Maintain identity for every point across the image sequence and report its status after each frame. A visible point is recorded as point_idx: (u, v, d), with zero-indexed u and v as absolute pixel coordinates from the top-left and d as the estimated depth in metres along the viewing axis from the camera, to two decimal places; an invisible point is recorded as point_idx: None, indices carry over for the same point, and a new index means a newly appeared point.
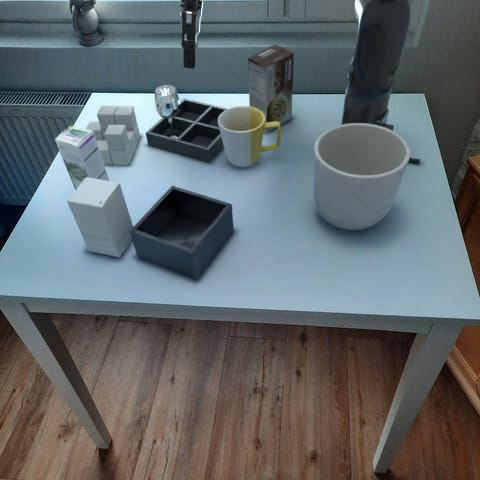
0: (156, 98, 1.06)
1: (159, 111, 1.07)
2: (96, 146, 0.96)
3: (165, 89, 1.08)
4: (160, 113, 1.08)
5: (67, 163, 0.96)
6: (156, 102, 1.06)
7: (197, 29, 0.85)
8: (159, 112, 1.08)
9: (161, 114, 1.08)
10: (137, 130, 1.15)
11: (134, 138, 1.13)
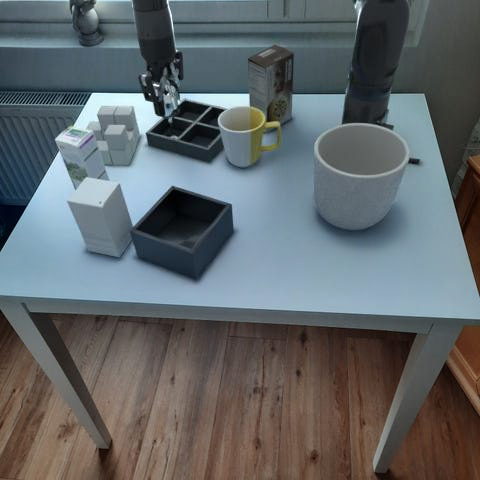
0: None
1: None
2: (96, 146, 0.96)
3: (165, 89, 1.08)
4: None
5: (67, 163, 0.96)
6: None
7: (160, 87, 1.02)
8: None
9: None
10: (137, 130, 1.15)
11: (134, 138, 1.13)
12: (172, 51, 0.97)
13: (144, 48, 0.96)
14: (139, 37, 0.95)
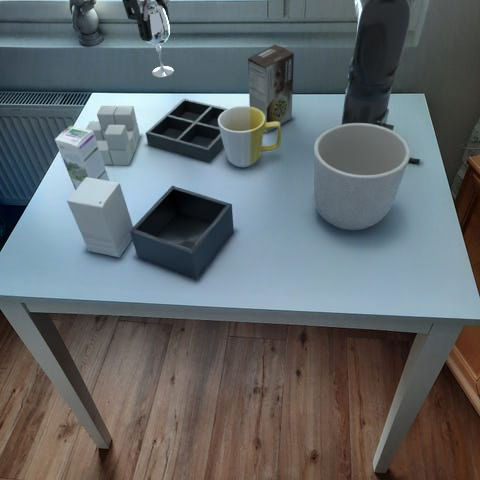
0: None
1: None
2: (96, 146, 0.96)
3: (151, 11, 0.94)
4: None
5: (67, 163, 0.96)
6: None
7: (145, 2, 0.88)
8: None
9: None
10: (137, 130, 1.15)
11: (134, 138, 1.13)
12: None
13: None
14: None
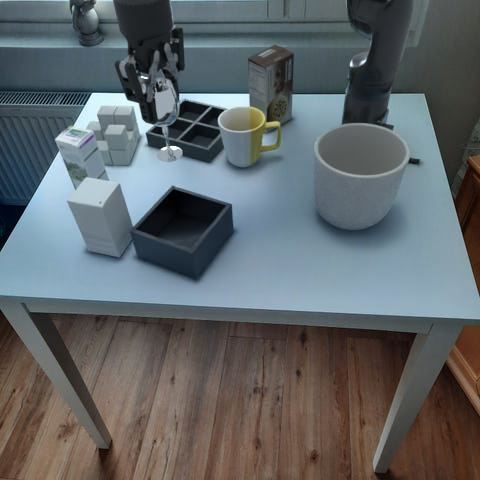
0: None
1: None
2: (96, 146, 0.96)
3: (157, 84, 0.74)
4: None
5: (67, 163, 0.96)
6: None
7: (149, 80, 0.68)
8: None
9: None
10: (137, 130, 1.15)
11: (134, 138, 1.13)
12: (167, 24, 0.63)
13: (123, 19, 0.62)
14: (115, 1, 0.61)
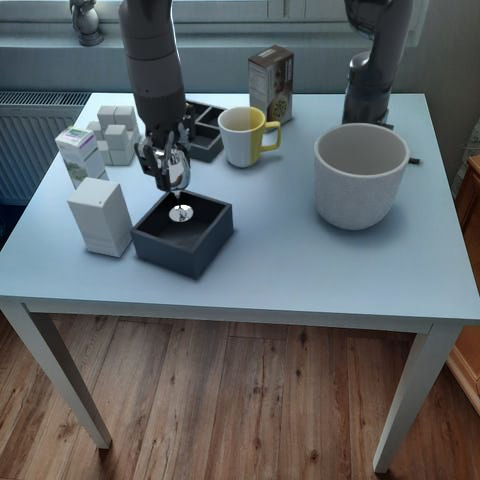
0: None
1: None
2: (96, 146, 0.96)
3: None
4: None
5: (67, 163, 0.96)
6: None
7: (164, 157, 0.74)
8: None
9: None
10: (137, 130, 1.15)
11: (134, 138, 1.13)
12: (181, 110, 0.69)
13: (142, 108, 0.68)
14: (135, 93, 0.67)
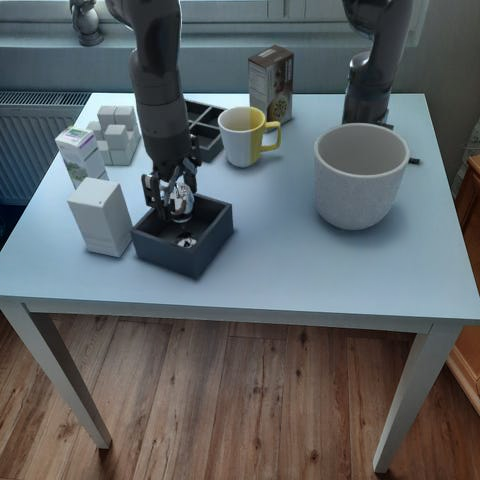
0: None
1: None
2: (96, 146, 0.96)
3: (176, 187, 0.86)
4: None
5: (67, 163, 0.96)
6: None
7: (168, 189, 0.78)
8: None
9: None
10: (137, 130, 1.15)
11: (134, 138, 1.13)
12: (186, 148, 0.74)
13: (150, 146, 0.73)
14: (143, 133, 0.72)
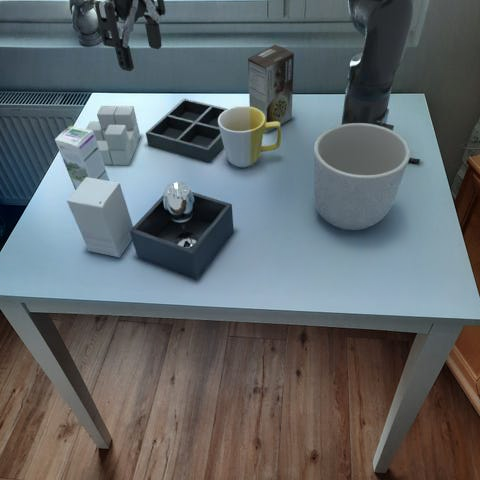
0: (165, 201, 0.83)
1: (169, 215, 0.85)
2: (96, 146, 0.96)
3: (176, 187, 0.86)
4: (170, 217, 0.85)
5: (67, 163, 0.96)
6: (165, 205, 0.84)
7: (126, 25, 0.72)
8: (169, 216, 0.85)
9: (171, 218, 0.85)
10: (137, 130, 1.15)
11: (134, 138, 1.13)
12: None
13: None
14: None
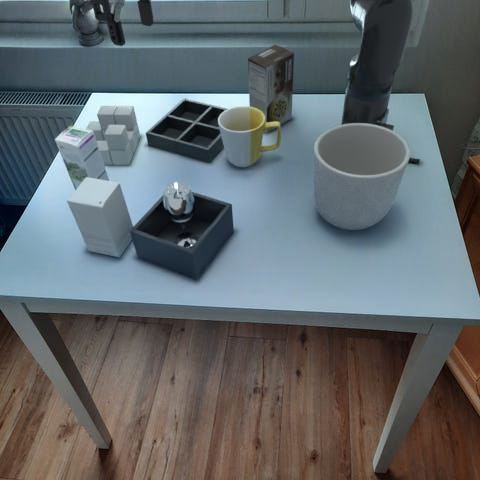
0: (165, 201, 0.83)
1: (169, 215, 0.85)
2: (96, 146, 0.96)
3: (176, 187, 0.86)
4: (170, 217, 0.85)
5: (67, 163, 0.96)
6: (165, 205, 0.84)
7: (118, 0, 0.75)
8: (169, 216, 0.85)
9: (171, 218, 0.85)
10: (137, 130, 1.15)
11: (134, 138, 1.13)
12: None
13: None
14: None
